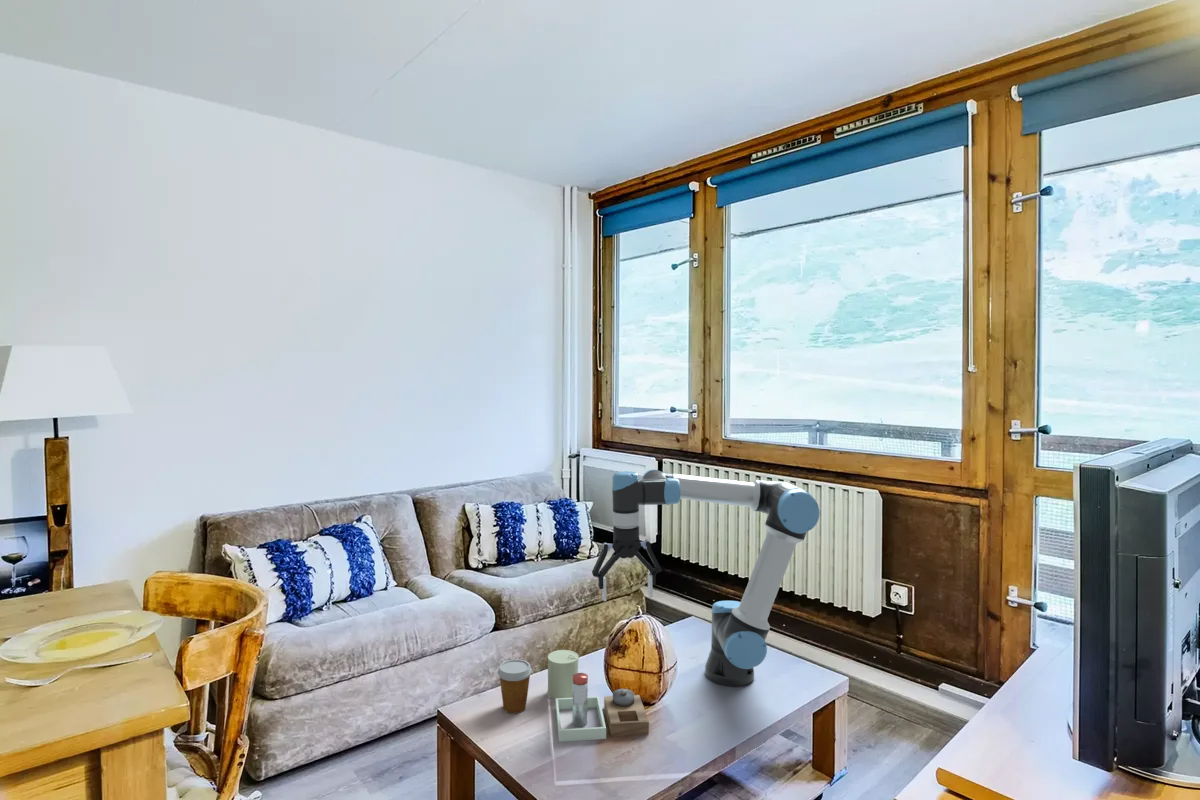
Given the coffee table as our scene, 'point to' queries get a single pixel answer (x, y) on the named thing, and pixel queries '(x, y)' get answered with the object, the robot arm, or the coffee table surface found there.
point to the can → (561, 673)
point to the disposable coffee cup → (514, 684)
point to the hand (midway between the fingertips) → (627, 597)
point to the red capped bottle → (580, 699)
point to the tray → (580, 732)
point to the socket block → (625, 713)
